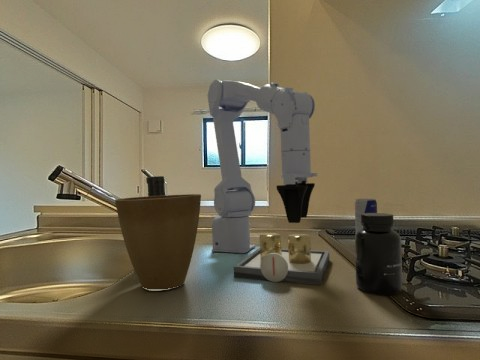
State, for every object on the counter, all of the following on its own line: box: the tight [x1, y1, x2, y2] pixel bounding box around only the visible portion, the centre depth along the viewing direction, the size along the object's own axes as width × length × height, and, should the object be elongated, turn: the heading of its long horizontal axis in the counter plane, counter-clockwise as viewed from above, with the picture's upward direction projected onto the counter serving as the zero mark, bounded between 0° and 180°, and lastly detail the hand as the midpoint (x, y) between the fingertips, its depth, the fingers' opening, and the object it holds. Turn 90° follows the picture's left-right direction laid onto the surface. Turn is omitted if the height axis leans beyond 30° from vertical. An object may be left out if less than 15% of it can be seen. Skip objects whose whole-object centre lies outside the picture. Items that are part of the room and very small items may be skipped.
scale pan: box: [245, 252, 322, 271], centre depth 62 cm, size 13×13×1 cm
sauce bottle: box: [145, 175, 166, 196], centre depth 70 cm, size 6×6×20 cm
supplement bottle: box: [354, 212, 403, 296], centre depth 49 cm, size 7×7×12 cm
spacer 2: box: [287, 233, 312, 264], centre depth 61 cm, size 4×4×5 cm
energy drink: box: [354, 198, 378, 234], centre depth 79 cm, size 5×5×12 cm
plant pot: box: [114, 193, 202, 289], centre depth 55 cm, size 15×15×16 cm
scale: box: [233, 247, 330, 286], centre depth 61 cm, size 16×17×5 cm
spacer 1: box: [259, 232, 282, 261], centre depth 63 cm, size 4×4×5 cm
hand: (298, 219), depth 61 cm, fingers open, 7 cm apart
